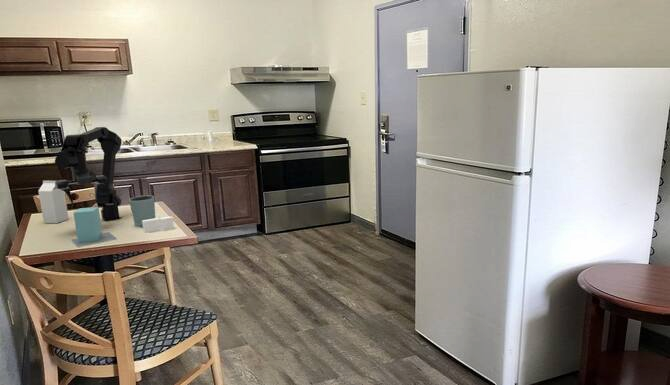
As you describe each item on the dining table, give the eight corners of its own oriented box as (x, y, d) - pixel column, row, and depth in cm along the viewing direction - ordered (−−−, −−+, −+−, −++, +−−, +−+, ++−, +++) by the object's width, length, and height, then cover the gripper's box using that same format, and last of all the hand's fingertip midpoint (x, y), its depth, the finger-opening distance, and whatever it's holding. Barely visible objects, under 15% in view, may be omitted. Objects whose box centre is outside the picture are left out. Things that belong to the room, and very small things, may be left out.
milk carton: (57, 223, 209) (50, 182, 205) (43, 223, 211) (36, 182, 207) (68, 219, 216) (62, 179, 212) (55, 219, 218) (49, 179, 214)
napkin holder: (135, 235, 188) (134, 222, 186) (150, 227, 199) (148, 214, 197) (171, 235, 186) (169, 221, 185) (183, 227, 197) (181, 214, 196)
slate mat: (109, 232, 191) (108, 232, 191) (117, 239, 181) (117, 238, 181) (70, 240, 183) (70, 239, 183) (77, 248, 173) (77, 247, 173)
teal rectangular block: (83, 237, 185) (79, 208, 182) (102, 235, 186) (98, 206, 184) (78, 242, 178) (73, 212, 176) (97, 241, 180) (93, 211, 177)
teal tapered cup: (161, 221, 206) (158, 195, 204) (151, 227, 197) (148, 200, 194) (138, 221, 207) (135, 195, 204) (128, 228, 197) (124, 200, 194)
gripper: (56, 169, 180) (63, 208, 183) (108, 164, 192) (113, 201, 195) (52, 167, 189) (58, 204, 192) (101, 161, 200) (106, 197, 203)
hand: (84, 201), depth 195 cm, fingers open, 9 cm apart
